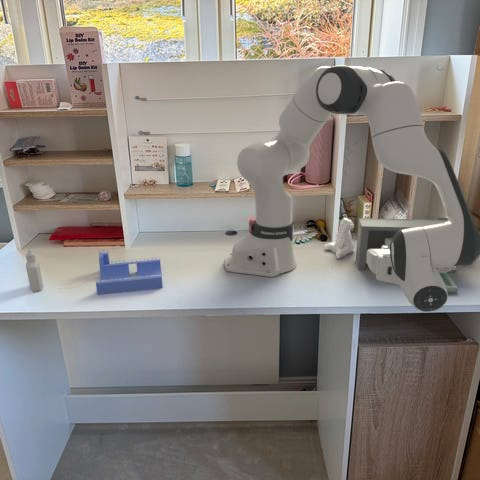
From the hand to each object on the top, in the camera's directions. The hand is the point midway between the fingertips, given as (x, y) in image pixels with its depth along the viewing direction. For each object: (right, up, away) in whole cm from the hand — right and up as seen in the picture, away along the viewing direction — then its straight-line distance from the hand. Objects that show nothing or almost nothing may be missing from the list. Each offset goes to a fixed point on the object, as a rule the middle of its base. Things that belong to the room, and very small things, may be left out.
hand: (401, 248), depth 126 cm
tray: (+10, -10, +6) cm, 16 cm away
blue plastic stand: (-76, -10, +13) cm, 78 cm away
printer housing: (+7, -6, +18) cm, 20 cm away
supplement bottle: (+1, -7, +16) cm, 17 cm away
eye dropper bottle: (-102, -12, +8) cm, 103 cm away
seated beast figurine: (-10, -2, +29) cm, 31 cm away
